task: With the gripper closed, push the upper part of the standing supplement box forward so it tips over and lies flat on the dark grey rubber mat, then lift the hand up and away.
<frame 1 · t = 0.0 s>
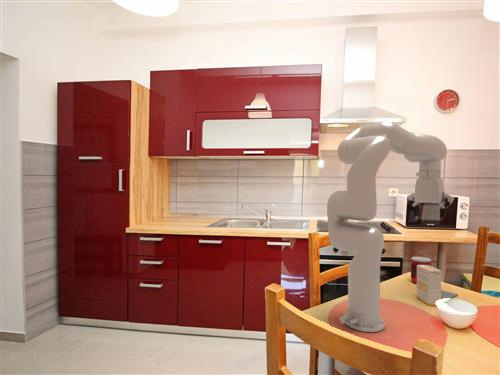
hand: (429, 217, 121), 31 cm above the table, tool pointing down, fingers open, 9 cm apart
supplement box: (428, 302, 113), on the table
canned food: (420, 283, 135), on the table
grey rubber mat: (440, 295, 119), on the table
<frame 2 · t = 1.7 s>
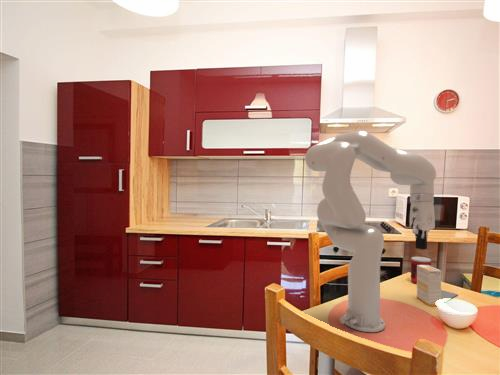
hand: (421, 248, 109), 21 cm above the table, tool pointing down, fingers closed
nothing on the table moved.
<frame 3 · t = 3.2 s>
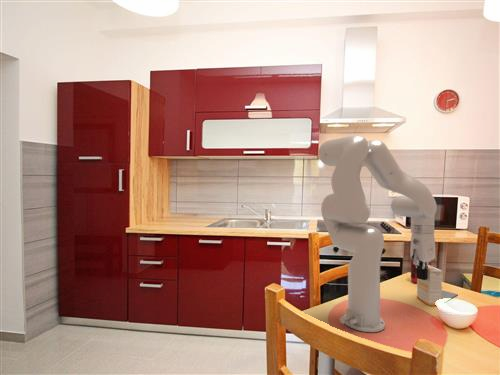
hand: (421, 278, 110), 10 cm above the table, tool pointing down, fingers closed
supplement box: (428, 302, 113), on the table, touching gripper
everything else where it was.
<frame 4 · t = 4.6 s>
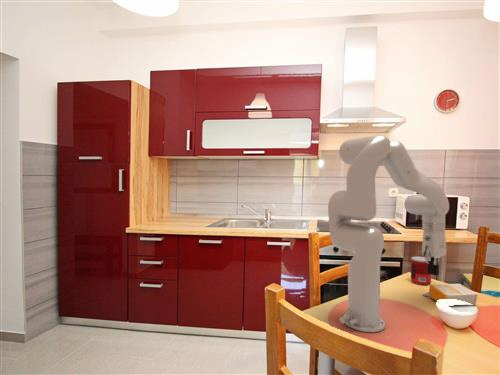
hand: (433, 274, 115), 10 cm above the table, tool pointing down, fingers closed
supplement box: (435, 295, 112), point 3 cm above the table, touching grey rubber mat
everything else where it was.
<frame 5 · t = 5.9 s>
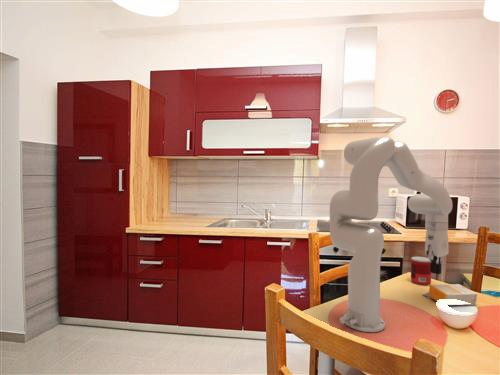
hand: (435, 272, 116), 10 cm above the table, tool pointing down, fingers closed
nothing on the table moved.
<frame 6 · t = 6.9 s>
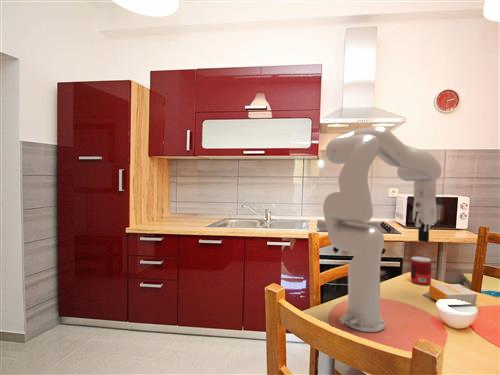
hand: (423, 241, 116), 22 cm above the table, tool pointing down, fingers closed
nothing on the table moved.
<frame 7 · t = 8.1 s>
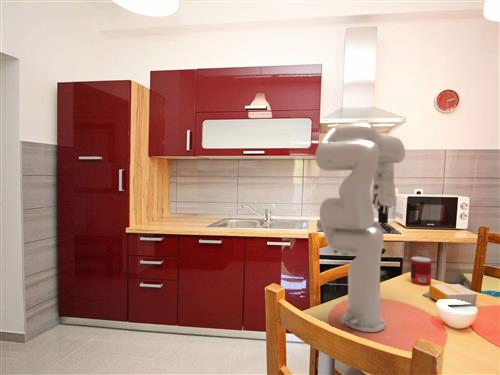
hand: (383, 222, 120), 29 cm above the table, tool pointing down, fingers closed
nothing on the table moved.
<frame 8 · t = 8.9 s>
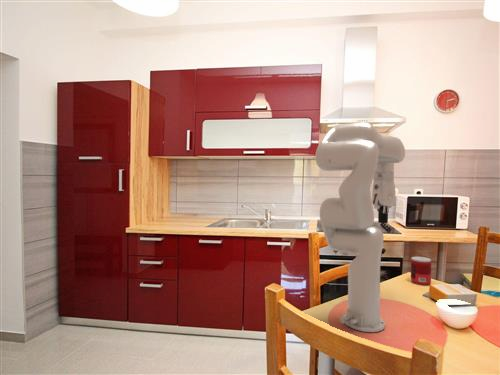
hand: (383, 222, 120), 29 cm above the table, tool pointing down, fingers closed
nothing on the table moved.
at the end: supplement box tilted 91°; supplement box inside the target area (4.9 cm from its centre), point 2.9 cm above the table; supplement box touching grey rubber mat, table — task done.
